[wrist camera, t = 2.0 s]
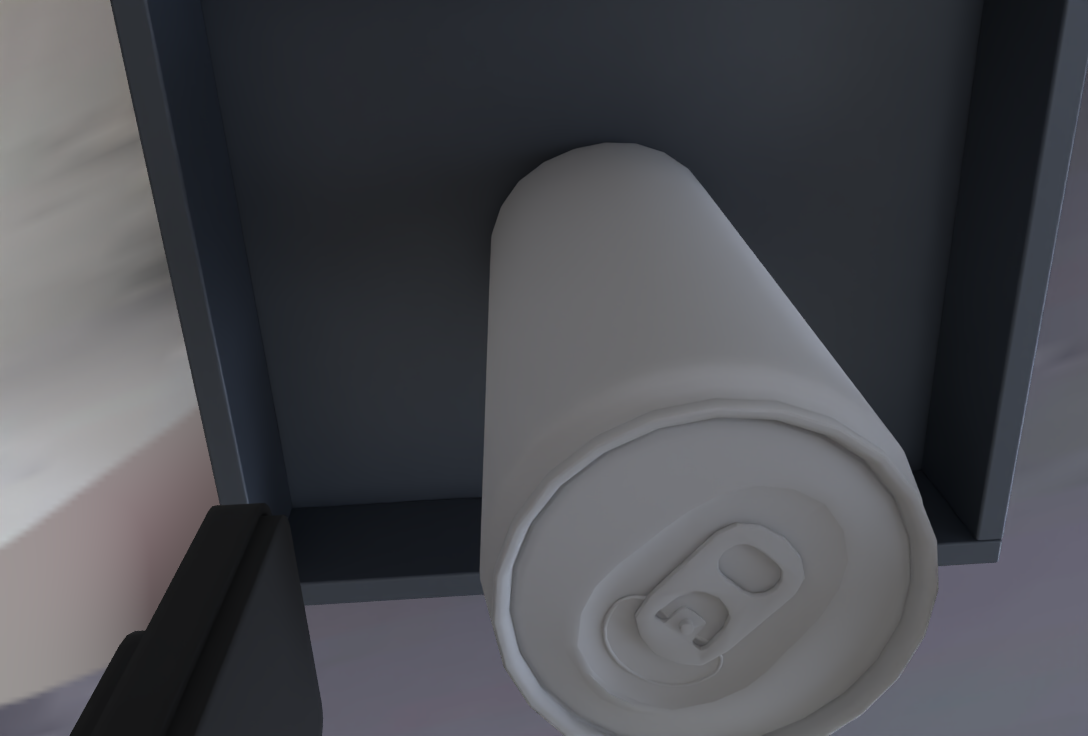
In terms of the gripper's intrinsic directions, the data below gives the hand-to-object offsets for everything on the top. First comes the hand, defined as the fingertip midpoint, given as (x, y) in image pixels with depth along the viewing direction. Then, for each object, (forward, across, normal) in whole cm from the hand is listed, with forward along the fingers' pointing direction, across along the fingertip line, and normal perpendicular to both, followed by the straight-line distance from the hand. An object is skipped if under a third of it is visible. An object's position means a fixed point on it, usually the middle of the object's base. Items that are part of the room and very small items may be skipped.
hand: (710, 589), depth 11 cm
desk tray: (+12, 0, -1) cm, 12 cm away
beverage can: (+11, 0, -1) cm, 11 cm away
